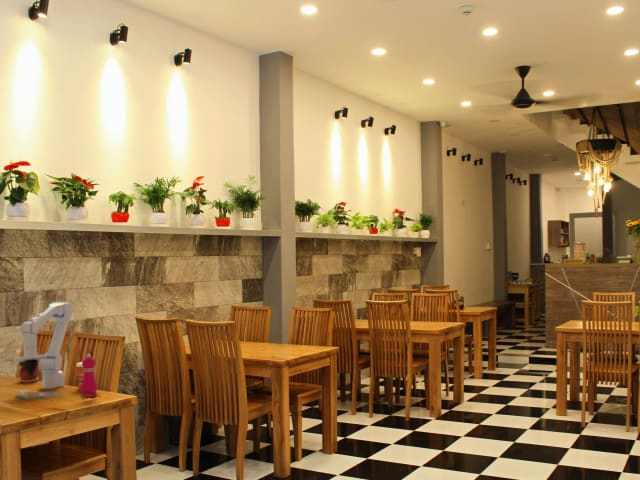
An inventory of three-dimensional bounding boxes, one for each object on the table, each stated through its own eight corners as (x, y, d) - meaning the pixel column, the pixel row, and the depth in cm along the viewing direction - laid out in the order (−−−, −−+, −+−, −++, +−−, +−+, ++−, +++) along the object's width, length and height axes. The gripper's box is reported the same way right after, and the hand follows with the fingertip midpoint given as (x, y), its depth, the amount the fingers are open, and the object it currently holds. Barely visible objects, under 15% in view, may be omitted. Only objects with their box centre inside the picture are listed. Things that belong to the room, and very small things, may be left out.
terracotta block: (34, 390, 316) (28, 391, 314) (38, 391, 314) (32, 392, 311) (34, 399, 316) (28, 400, 314) (38, 400, 313) (32, 401, 311)
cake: (15, 382, 365) (14, 348, 366) (25, 379, 375) (24, 346, 375) (33, 382, 364) (33, 348, 364) (43, 379, 373) (43, 346, 373)
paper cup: (73, 392, 331) (72, 363, 332) (84, 390, 338) (83, 361, 339) (86, 393, 328) (85, 364, 329) (97, 390, 336) (96, 361, 336)
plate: (50, 394, 330) (50, 390, 330) (64, 397, 321) (64, 394, 321) (30, 397, 323) (30, 394, 323) (44, 400, 314) (44, 397, 314)
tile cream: (26, 389, 320) (20, 390, 317) (30, 390, 317) (24, 391, 315) (26, 398, 319) (20, 399, 317) (31, 399, 317) (24, 400, 315)
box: (30, 397, 323) (30, 391, 323) (44, 400, 314) (44, 395, 314) (15, 399, 318) (15, 394, 318) (29, 403, 308) (29, 397, 308)
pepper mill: (101, 396, 321) (100, 352, 322) (91, 399, 314) (90, 355, 315) (88, 395, 324) (87, 352, 324) (77, 398, 317) (77, 354, 317)
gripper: (18, 349, 319) (19, 379, 318) (49, 345, 329) (49, 374, 329) (11, 348, 324) (12, 377, 323) (42, 345, 334) (42, 373, 334)
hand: (30, 376), depth 326 cm, fingers closed
